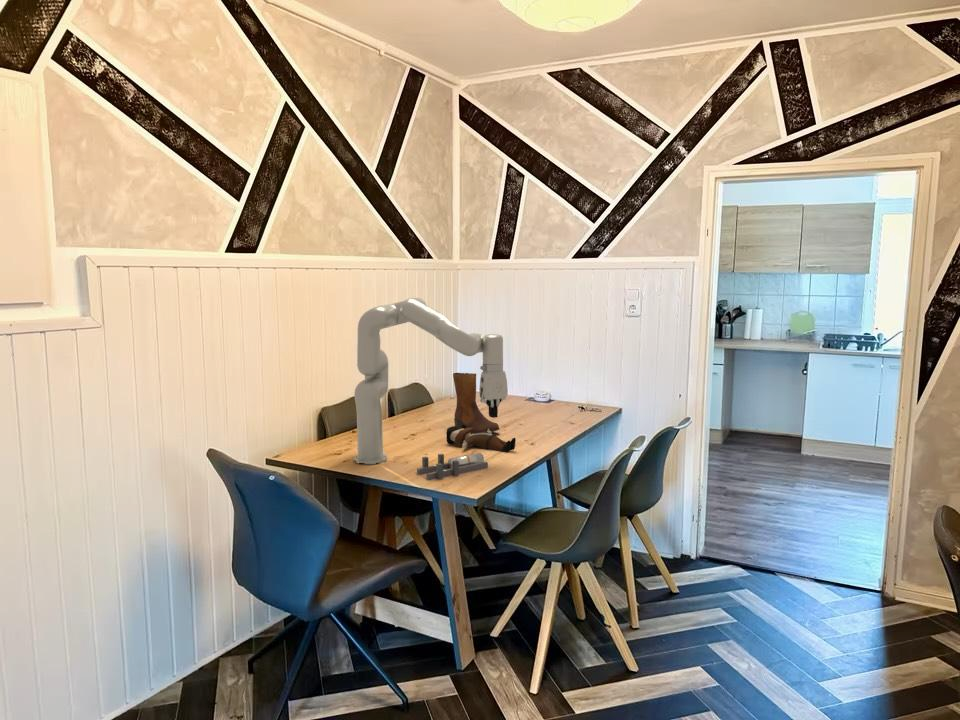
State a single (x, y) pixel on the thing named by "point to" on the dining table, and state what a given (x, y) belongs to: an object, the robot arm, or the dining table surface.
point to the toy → (478, 439)
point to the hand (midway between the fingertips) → (493, 416)
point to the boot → (469, 405)
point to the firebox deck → (447, 469)
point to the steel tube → (467, 460)
